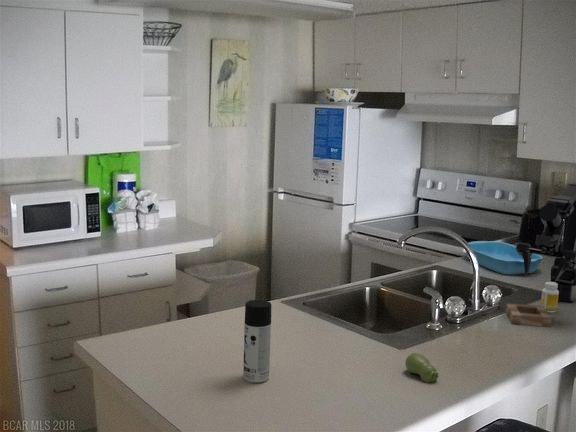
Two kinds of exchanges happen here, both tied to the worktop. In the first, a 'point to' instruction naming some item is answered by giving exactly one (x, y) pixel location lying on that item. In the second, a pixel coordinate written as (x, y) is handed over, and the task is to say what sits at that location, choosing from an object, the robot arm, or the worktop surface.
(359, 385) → the worktop surface
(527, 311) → the walnut jig
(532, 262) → the casserole dish
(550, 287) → the supplement bottle
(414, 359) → the pear
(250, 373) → the spray can
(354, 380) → the worktop surface
